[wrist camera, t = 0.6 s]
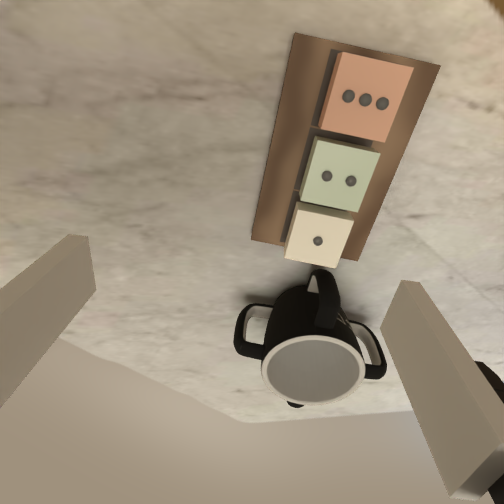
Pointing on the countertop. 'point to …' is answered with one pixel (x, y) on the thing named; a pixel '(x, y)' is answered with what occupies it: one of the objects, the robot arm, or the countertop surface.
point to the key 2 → (338, 173)
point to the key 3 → (363, 96)
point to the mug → (310, 345)
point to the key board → (306, 128)
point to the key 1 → (317, 234)
